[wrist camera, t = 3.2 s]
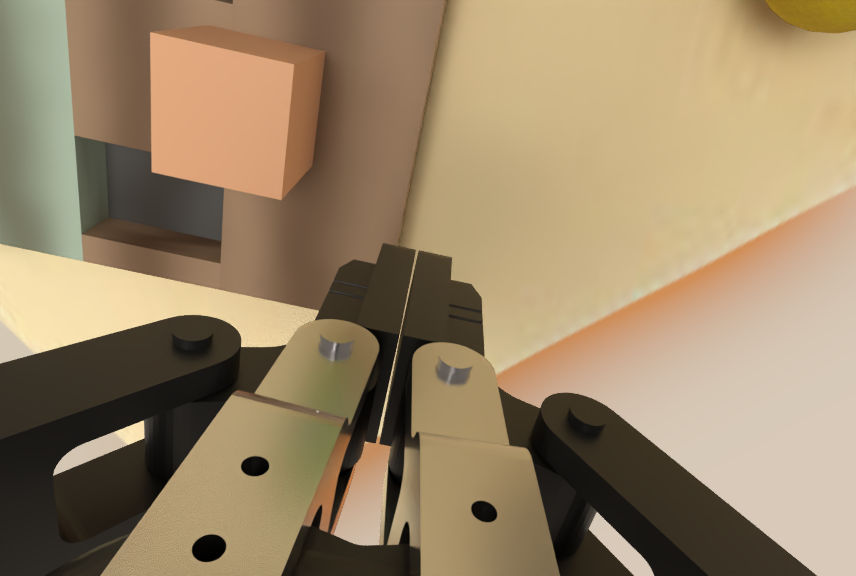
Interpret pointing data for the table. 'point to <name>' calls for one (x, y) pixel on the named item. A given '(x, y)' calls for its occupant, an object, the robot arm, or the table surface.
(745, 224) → the table surface
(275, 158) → the block
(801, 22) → the lemon
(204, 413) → the robot arm
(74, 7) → the track
